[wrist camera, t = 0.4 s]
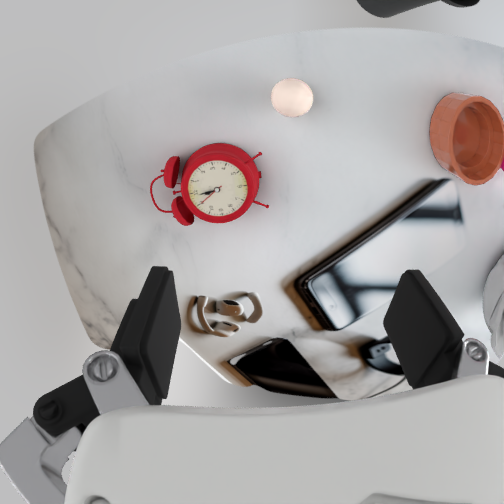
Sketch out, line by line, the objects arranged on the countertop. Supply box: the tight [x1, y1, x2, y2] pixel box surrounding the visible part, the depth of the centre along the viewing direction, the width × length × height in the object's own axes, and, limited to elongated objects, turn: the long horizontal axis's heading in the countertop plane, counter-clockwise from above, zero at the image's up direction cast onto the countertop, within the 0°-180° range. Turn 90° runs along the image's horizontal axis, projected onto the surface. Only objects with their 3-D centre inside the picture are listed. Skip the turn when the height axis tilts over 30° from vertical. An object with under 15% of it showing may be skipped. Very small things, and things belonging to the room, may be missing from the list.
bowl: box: [430, 93, 504, 185], centre depth 30 cm, size 14×14×6 cm
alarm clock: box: [150, 143, 269, 226], centre depth 36 cm, size 10×6×15 cm
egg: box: [271, 78, 313, 117], centre depth 29 cm, size 5×5×7 cm
